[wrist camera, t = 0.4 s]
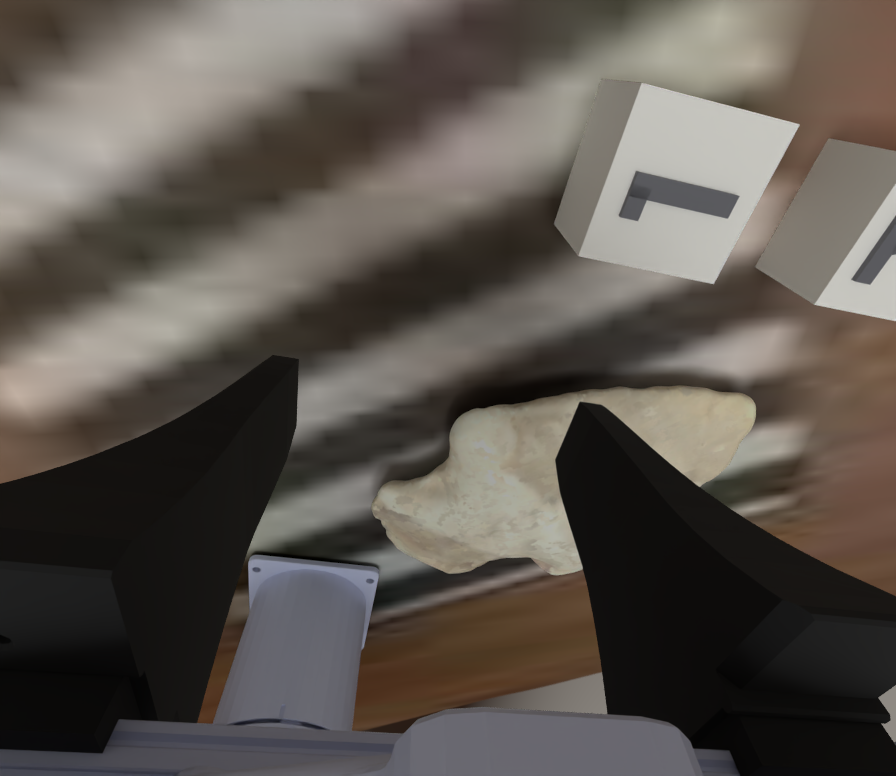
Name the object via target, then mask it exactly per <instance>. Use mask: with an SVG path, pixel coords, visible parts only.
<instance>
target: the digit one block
mask: <svg viewBox="0 0 896 776" xmlns="http://www.w3.org/2000/svg"><path fill="white" fill-rule="evenodd" d="M798 127H799V124H796V123H792V122H788V121H784V120H781V119H777V118H773V117H769V116H766V115H762V114H758V113H754V112H750V111H747V110H743V109H739V108H735V107H732V106H728V105H724V104H720V103H716V102H713V101H709V100H705V99H701V98H698V97H694V96H690V95H686V94H683V93H679V92H675V91H671V90H667V89H664V88H660V87H656V86H652V85H649V84H645V83H639V82H629V81H619V80H608V79H601V81H600V84H599V87H598V90H597V93H596V96H595V99H594V102H593V105H592V108H591V112H590V115H589V118H588V121H587V124H586V127H585V130H584V133H583V136H582V139H581V142H580V145H579V148H578V151H577V155H576V158H575V161H574V164H573V167H572V170H571V173H570V176H569V179H568V182H567V185H566V188H565V191H564V194H563V197H562V201H561V204H560V207H559V210H558V213H557V216H556V219H555V222H554V225H555V226H556V228H557V229H558V230H559V231H560V233H561V234H562V235H563V237H564V238H565V239H566V241H567V242H568V243H569V245H570V246H571V247H572V249H573V250H574V251H575V252H576V254H577V255H578V256H580V257H585V258H590V259H595V260H599V261H604V262H609V263H614V264H619V265H624V266H628V267H633V268H638V269H643V270H648V271H653V272H657V273H662V274H667V275H672V276H677V277H682V278H686V279H691V280H696V281H701V282H706V283H711V284H714V282H715V280H716V279H717V277H718V275H719V273H720V271H721V269H722V268H723V266H724V264H725V262H726V260H727V258H728V256H729V255H730V253H731V251H732V249H733V247H734V245H735V243H736V242H737V240H738V238H739V236H740V234H741V232H742V231H743V229H744V227H745V225H746V223H747V221H748V219H749V218H750V216H751V214H752V212H753V210H754V208H755V206H756V205H757V203H758V201H759V199H760V197H761V195H762V194H763V192H764V190H765V188H766V186H767V184H768V182H769V181H770V179H771V177H772V175H773V173H774V171H775V170H776V168H777V166H778V164H779V162H780V160H781V158H782V157H783V155H784V153H785V151H786V149H787V147H788V145H789V144H790V142H791V140H792V138H793V136H794V134H795V133H796V131H797V129H798Z"/></svg>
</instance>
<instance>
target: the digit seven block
mask: <svg viewBox="0 0 896 776" xmlns="http://www.w3.org/2000/svg"><path fill="white" fill-rule="evenodd" d="M755 267H756V268H757V269H759V270H760V271H762V272H764V273H765V274H767V275H768V276H770V277H771V278H773V279H775V280H776V281H778V282H779V283H781V284H783V285H784V286H786V287H787V288H789V289H790V290H792V291H794V292H795V293H797V294H798V295H800V296H801V297H803V298H805V299H806V300H808V301H809V302H811V303H812V304H814V305H818V306H823V307H828V308H833V309H838V310H843V311H848V312H853V313H858V314H863V315H868V316H873V317H878V318H883V319H888V320H893V321H896V151H893V150H888V149H882V148H877V147H872V146H867V145H861V144H856V143H851V142H846V141H841V140H835V139H830V138H828V140H827V142H826V144H825V145H824V147H823V149H822V150H821V152H820V154H819V156H818V157H817V159H816V161H815V163H814V164H813V166H812V168H811V170H810V171H809V173H808V175H807V177H806V178H805V180H804V182H803V184H802V185H801V187H800V189H799V191H798V192H797V194H796V196H795V198H794V199H793V201H792V203H791V205H790V206H789V208H788V210H787V212H786V213H785V215H784V217H783V219H782V220H781V222H780V224H779V226H778V227H777V229H776V231H775V233H774V234H773V236H772V238H771V240H770V241H769V243H768V245H767V247H766V248H765V250H764V252H763V254H762V255H761V257H760V259H759V261H758V262H757V264H756V266H755Z"/></svg>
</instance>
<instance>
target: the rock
mask: <svg viewBox="0 0 896 776" xmlns="http://www.w3.org/2000/svg"><path fill="white" fill-rule="evenodd" d="M580 401H581V402H587V403H594V404H601V405H603V406H604V407H606V408H607V409H608V410H610V411H611V412H612V413H613V414H614V415H616V416H617V417H618V418H619V419H620V420H621V421H622V422H624V423H625V424H626V425H627V426H628V427H629V428H630V429H631V430H633V431H634V432H635V433H636V434H637V435H638V436H639V437H640V438H641V439H643V440H644V441H645V442H646V443H647V444H648V445H649V446H650V447H652V448H653V449H654V450H655V451H656V452H657V453H658V454H660V455H661V456H662V457H663V458H664V459H665V460H667V461H668V462H669V463H670V464H671V465H672V466H674V467H675V468H676V469H677V470H679V471H680V472H681V473H682V474H684V475H685V476H686V477H687V478H689V479H690V480H691V481H692V482H694V483H695V484H696V485H697V486H699V487H700V486H701V485H702V484H704V483H705V482H708V481H710V480H712V479H713V478H715V477H716V476H717V475H719V474H720V473H721V472H722V471H723V470H724V469H725V468H726V467H727V466H728V465H729V464H730V462H731V460H732V458H733V456H734V454H735V453H736V451H737V449H738V446H739V444H740V442H741V441H742V440H743V438H744V437H745V436H746V435H747V434H748V433H749V432H750V431H751V429H752V427H753V424H754V422H755V417H756V406H755V403H754V402H753V400H752V399H751V398H750V397H749V396H747V395H745V394H742V393H730V392H718V391H714V390H711V389H708V388H704V387H691V386H684V385H676V386H669V387H666V386H653V387H649V388H645V389H637V388H628V387H622V386H617V387H613V388H608V389H588V390H583V391H578V392H570V393H565V394H562V395H559V396H550V397H545V398H539V399H536V400H533V401H529V402H524V403H517V404H513V405H508V404H501V405H495V406H490V407H487V408H475V409H472V410H470V411H468V412H465V413H464V414H462V415H461V416H460V417H458V418H457V420H456V421H455V422H454V424H453V426H452V428H451V431H450V435H449V442H450V451H449V457H448V458H447V460H446V461H445V462H444V463H442V464H441V465H439V466H438V467H437V468H435V469H434V470H433V471H432V472H431V473H429V474H428V475H426V476H423V477H418V478H414V479H411V480H407V481H401V480H392V481H389V482H387V483H385V484H384V485H382V486H381V488H380V490H379V491H378V495H377V496H376V497H375V499H374V500H373V502H372V505H371V509H372V511H373V515H374V516H375V518H377V519H380V520H381V523H382V525H383V526H384V528H386V534H387V536H388V538H389V539H390V540H391V541H392V542H393V543H394V545H395V546H396V548H397V549H399V550H400V551H402V552H404V553H405V554H407V555H408V556H411V557H414V558H415V559H417V560H419V561H421V562H423V563H425V564H427V565H430V566H432V567H434V568H437V569H439V570H442V571H444V572H446V573H449V574H452V573H462V572H467V571H471V570H473V569H474V568H476V567H478V566H481V565H483V564H485V563H486V562H488V561H491V560H496V559H501V558H520V557H530V558H532V560H533V561H534V562H535V563H537V564H538V565H539V566H540V567H541V568H542V569H543V570H544V571H546V572H548V573H550V574H552V575H563V574H567V573H573V572H577V571H579V570H581V569H583V567H582V564H581V560H580V557H579V554H578V551H577V548H576V544H575V541H574V538H573V535H572V531H571V528H570V525H569V522H568V518H567V515H566V512H565V508H564V505H563V502H562V498H561V495H560V490H559V484H558V478H557V470H556V463H555V459H556V456H557V454H558V452H559V449H560V447H561V445H562V442H563V440H564V437H565V435H566V433H567V430H568V428H569V426H570V423H571V421H572V419H573V416H574V414H575V411H576V409H577V407H578V404H579V402H580Z"/></svg>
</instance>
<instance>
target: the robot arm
mask: <svg viewBox="0 0 896 776" xmlns="http://www.w3.org/2000/svg"><path fill="white" fill-rule="evenodd" d="M298 366H299V359H295V358H289V357H282V356H275V355H272V356H271V357H270V358H268V359H267V360H265V361H264V362H262V363H261V364H260V365H258V366H257V367H255V368H254V369H253V370H251V371H250V372H249V373H247V374H246V375H244V376H243V377H242V378H240V379H239V380H237V381H236V382H235V383H233V384H232V385H230V386H229V387H227V388H226V389H224V390H223V391H221V392H220V393H218V394H217V395H216V396H214V397H212V398H211V399H209V400H207V401H206V402H204V403H202V404H201V405H199V406H198V407H196V408H194V409H193V410H191V411H189V412H188V413H186V414H184V415H182V416H180V417H179V418H177V419H175V420H173V421H171V422H169V423H167V424H165V425H163V426H161V427H159V428H157V429H155V430H153V431H151V432H149V433H146V434H144V435H142V436H140V437H138V438H135V439H133V440H130V441H128V442H125V443H123V444H120V445H118V446H115V447H113V448H110V449H108V450H105V451H103V452H100V453H98V454H95V455H93V456H90V457H87V458H84V459H81V460H78V461H75V462H73V463H70V464H67V465H64V466H61V467H57V468H54V469H51V470H48V471H45V472H41V473H38V474H35V475H31V476H28V477H24V478H21V479H17V480H13V481H9V482H6V483H2V484H0V776H896V742H893V740H892V739H891V737H890V736H889V735H888V733H887V732H886V730H885V729H884V727H883V726H882V724H881V723H884V724H885V723H887V722H889V721H890V714H889V713H888V711H887V710H886V708H885V707H884V706H883V704H882V703H881V701H880V700H879V699H878V697H879V696H881V695H882V694H884V693H885V692H886V691H888V690H889V689H891V688H892V687H893V686H895V685H896V597H895V596H894V595H892V594H890V593H887V592H885V591H883V590H881V589H879V588H876V587H874V586H872V585H870V584H868V583H865V582H863V581H861V580H859V579H857V578H854V577H852V576H850V575H848V574H846V573H844V572H841V571H839V570H837V569H835V568H833V567H831V566H829V565H827V564H825V563H823V562H821V561H819V560H817V559H815V558H813V557H811V556H810V555H808V554H806V553H804V552H802V551H800V550H798V549H796V548H794V547H793V546H791V545H789V544H787V543H785V542H784V541H782V540H780V539H778V538H776V537H775V536H773V535H771V534H770V533H768V532H766V531H765V530H763V529H761V528H760V527H758V526H756V525H755V524H753V523H751V522H750V521H748V520H747V519H745V518H743V517H742V516H740V515H739V514H737V513H736V512H734V511H733V510H731V509H730V508H728V507H727V506H725V505H724V504H723V503H721V502H720V501H718V500H717V499H715V498H714V497H713V496H711V495H710V494H708V493H707V492H705V491H704V490H703V489H701V488H700V487H699V486H697V485H696V484H695V483H694V482H692V481H691V480H690V479H689V478H687V477H686V476H685V475H684V474H682V473H681V472H680V471H679V470H677V469H676V468H675V467H674V466H672V465H671V464H670V463H669V462H668V461H667V460H665V459H664V458H663V457H662V456H661V455H660V454H658V453H657V452H656V451H655V450H654V449H653V448H652V447H650V446H649V445H648V444H647V443H646V442H645V441H644V440H643V439H641V438H640V437H639V436H638V435H637V434H636V433H635V432H634V431H633V430H631V429H630V428H629V427H628V426H627V425H626V424H625V423H624V422H622V421H621V420H620V419H619V418H618V417H617V416H616V415H614V414H613V413H612V412H611V411H610V410H608V409H607V408H606V407H604V406H603V405H601V404H594V403H587V402H581V401H580V402H579V404H578V407H577V409H576V411H575V414H574V416H573V419H572V421H571V423H570V426H569V428H568V430H567V433H566V435H565V437H564V440H563V442H562V445H561V447H560V449H559V452H558V454H557V456H556V459H555V463H556V470H557V478H558V484H559V490H560V495H561V498H562V502H563V505H564V508H565V512H566V515H567V518H568V522H569V525H570V528H571V531H572V535H573V538H574V541H575V544H576V548H577V551H578V554H579V557H580V560H581V564H582V567H583V571H584V574H585V578H586V582H587V586H588V591H589V597H590V602H591V607H592V612H593V617H594V623H595V629H596V635H597V641H598V647H599V653H600V659H601V667H602V674H603V682H604V690H605V696H606V705H607V714H592V713H574V712H558V711H541V710H525V709H507V708H491V707H476V708H462V709H461V708H460V709H447V710H444V711H441V712H438V713H435V714H432V715H429V716H426V717H423V718H421V719H418V720H417V721H416V722H415V723H414V724H413V725H412V726H411V727H410V728H409V729H408V730H407V731H406V732H405V733H404V734H397V733H378V732H359V731H352V724H353V715H354V707H355V698H356V690H357V681H358V673H359V665H360V656H361V650H362V649H363V648H364V644H365V640H366V635H367V630H368V625H369V621H370V616H371V611H372V607H373V602H374V597H375V592H376V588H377V583H378V578H379V570H378V569H377V568H376V567H372V566H363V565H353V564H343V563H334V562H324V561H314V560H305V559H295V558H285V557H276V556H266V555H253V556H251V557H250V559H249V562H248V574H249V609H250V612H249V615H248V618H247V621H246V624H245V628H244V631H243V634H242V637H241V640H240V643H239V646H238V649H237V652H236V655H235V658H234V661H233V664H232V667H231V670H230V673H229V676H228V679H227V682H226V685H225V688H224V691H223V694H222V697H221V700H220V703H219V706H218V709H217V712H216V715H215V718H214V721H213V724H202V723H197V721H198V717H199V714H200V710H201V706H202V703H203V699H204V695H205V691H206V688H207V684H208V680H209V677H210V673H211V670H212V666H213V663H214V659H215V656H216V652H217V649H218V645H219V642H220V639H221V635H222V632H223V628H224V625H225V622H226V618H227V615H228V612H229V608H230V605H231V602H232V599H233V595H234V592H235V589H236V586H237V582H238V579H239V576H240V573H241V570H242V567H243V563H244V560H245V557H246V554H247V551H248V548H249V546H250V543H251V541H252V538H253V536H254V533H255V531H256V529H257V526H258V524H259V522H260V519H261V517H262V515H263V513H264V510H265V508H266V506H267V504H268V501H269V499H270V497H271V494H272V492H273V490H274V488H275V485H276V483H277V481H278V478H279V476H280V474H281V472H282V469H283V467H284V465H285V462H286V460H287V457H288V453H289V450H290V446H291V443H292V439H293V436H294V432H295V429H296V423H297V394H298Z"/></svg>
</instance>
